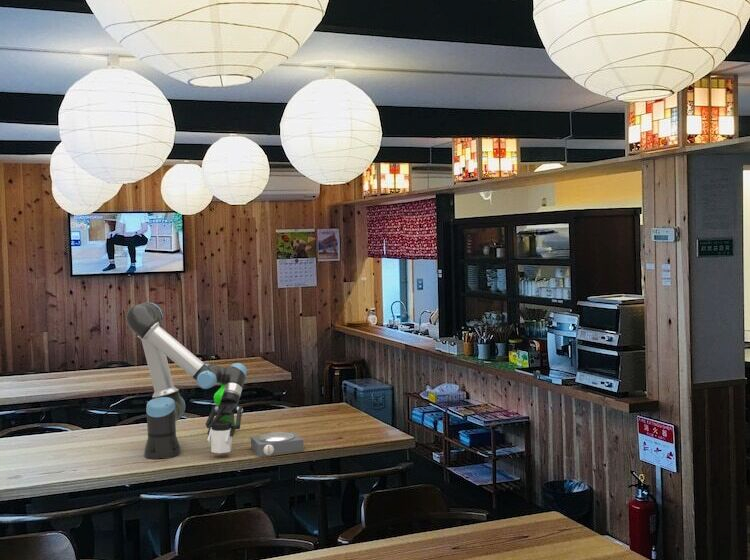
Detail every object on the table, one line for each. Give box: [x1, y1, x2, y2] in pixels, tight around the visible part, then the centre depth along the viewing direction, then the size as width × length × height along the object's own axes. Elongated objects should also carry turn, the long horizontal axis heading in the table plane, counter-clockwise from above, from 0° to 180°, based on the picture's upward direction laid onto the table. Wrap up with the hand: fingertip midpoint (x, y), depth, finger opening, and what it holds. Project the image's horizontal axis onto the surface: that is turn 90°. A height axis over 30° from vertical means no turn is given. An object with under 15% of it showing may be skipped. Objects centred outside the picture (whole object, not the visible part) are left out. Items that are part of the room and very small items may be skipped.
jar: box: [210, 420, 233, 454], centre depth 339 cm, size 9×8×12 cm
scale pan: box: [258, 431, 294, 443], centre depth 348 cm, size 15×15×1 cm
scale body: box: [250, 431, 304, 458], centre depth 348 cm, size 19×17×5 cm
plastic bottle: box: [213, 383, 236, 425], centre depth 381 cm, size 10×10×25 cm
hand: (217, 442), depth 336 cm, fingers closed on jar, 7 cm apart
